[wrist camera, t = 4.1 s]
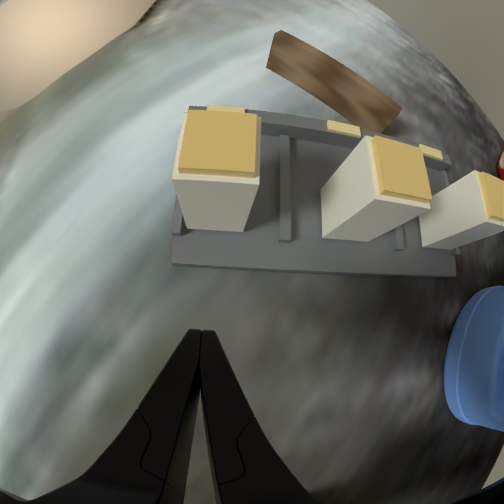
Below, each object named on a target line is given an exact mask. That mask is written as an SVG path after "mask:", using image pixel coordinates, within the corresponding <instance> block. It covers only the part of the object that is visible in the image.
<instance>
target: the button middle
mask: <svg viewBox="0 0 504 504" xmlns="http://www.w3.org/2000/svg"><path fill="white" fill-rule="evenodd" d="M320 191H321V212H322V238H329V239H341V240H353V241H364V242H368V241H370V240H372V239H374V238H376V237H378V236H380V235H382V234H384V233H386V232H388V231H390V230H392V229H394V228H396V227H398V226H400V225H402V224H403V223H405V222H407V221H409V220H411V219H413V218H415V217H417V216H419V215H420V214H422V213H424V212H426V211H428V210H430V203H429V202H430V201H431V200H432V195H431V190H430V185H429V180H428V175H427V171H426V166H425V162H424V158H423V154H422V150H421V148H418V147H415V146H412V145H409V144H405V143H402V142H398V141H395V140H391V139H388V138H384V137H380V136H376V135H375V136H374V137H370V136H366V135H365V136H364V138H363V139H362V140H361V141H360V142H359V144H358V145H357V146H356V147H355V149H354V150H353V151H352V152H351V153H350V155H349V156H348V157H347V158H346V159H345V161H344V162H343V163H342V164H341V165H340V167H339V168H338V169H337V170H336V172H335V173H334V174H333V175H332V176H331V178H330V179H329V180H328V181H327V182H326V184H325V185H324V186H323V187H322V188H321V190H320Z"/></svg>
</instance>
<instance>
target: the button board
mask: <svg viewBox="0 0 504 504" xmlns="http://www.w3.org/2000/svg"><path fill="white" fill-rule="evenodd" d="M189 110H213V111H229V112H241V113H252V114H257V117H261V143H260V178H259V187H258V190H257V193H256V196H255V198H254V201H253V204H252V207H251V210H250V213H249V216H248V219H247V222H246V224H245V227H244V230H243V232H233V231H217V230H201V229H187V227H186V224H185V220H184V217H183V214H182V211H181V207H180V204H179V201H178V198H177V194H176V202H175V209H174V218H173V226H172V234H173V244H172V255H171V264H172V265H173V266H185V267H201V268H218V269H235V270H253V271H272V272H292V273H314V274H338V275H365V276H397V277H436V278H450V277H454V276H457V275H456V261H455V256H457V255H460V247H457V248H454V249H451V250H447V249H438V248H428V247H422V239H421V230H420V221H419V216H417V217H415V218H413V219H411V220H409V221H407V222H405V223H403V224H402V225H400V226H398V227H396V228H394V229H392V230H390V231H388V232H386V233H384V234H382V235H380V236H378V237H376V238H374V239H372V240H370V241H368V242H364V241H353V240H341V239H329V238H322V212H321V191H320V190H321V188H322V187H323V186H324V185H325V184H326V182H327V181H328V180H329V179H330V178H331V176H332V175H333V174H334V173H335V172H336V170H337V169H338V168H339V167H340V165H341V164H342V163H343V162H344V161H345V159H346V158H347V157H348V156H349V155H350V153H351V152H352V151H353V150H354V149H355V147H356V146H357V145H358V144H359V142H360V141H361V140H362V139H363V138H364V136H365V135H366V136H370V137H374V136H375V135H376V136H380V137H384V138H388V139H391V140H395V141H398V142H402V143H405V144H409V145H412V146H415V147H418V148H421V150H422V154H423V158H424V162H425V166H426V171H427V175H428V180H429V185H430V190H431V195H432V196H433V195H435V194H437V193H438V192H440V191H442V190H443V189H445V188H447V187H448V186H449V181H448V177H447V173H446V171H444V169H446V168H447V167H449V166H450V165H451V163H450V159H449V156H448V155H447V154H444V153H441V151H439V150H436V149H433V148H430V147H428V146H425V145H422V144H420V145H418V144H415V143H412V142H408V141H405V140H402V139H398V138H395V137H391V136H388V135H384V134H381V133H377V132H373V131H369V130H365V129H361V128H360V127H358V126H354V125H349V124H345V123H340V122H335V121H331V120H328V121H324V120H318V119H313V118H307V117H301V116H294V115H288V114H281V113H273V112H265V111H256V110H246V109H245V108H239V107H227V106H210V105H207V107H201V106H189Z"/></svg>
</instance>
